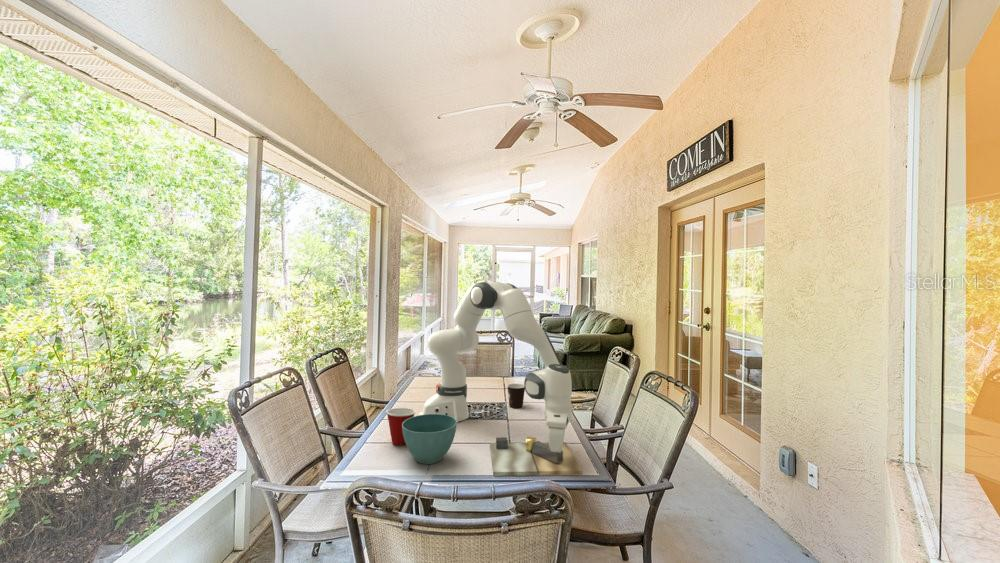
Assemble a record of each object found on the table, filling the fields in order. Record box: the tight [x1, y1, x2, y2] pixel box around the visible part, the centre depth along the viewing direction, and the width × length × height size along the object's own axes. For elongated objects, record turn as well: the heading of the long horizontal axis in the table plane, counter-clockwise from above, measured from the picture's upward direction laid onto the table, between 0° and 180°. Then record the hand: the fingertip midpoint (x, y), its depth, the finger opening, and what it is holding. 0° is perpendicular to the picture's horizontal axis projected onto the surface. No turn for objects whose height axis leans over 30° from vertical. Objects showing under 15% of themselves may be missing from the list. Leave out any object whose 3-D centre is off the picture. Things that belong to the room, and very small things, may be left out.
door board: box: [489, 441, 583, 477], centre depth 136 cm, size 28×22×1 cm
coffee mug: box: [507, 383, 526, 410], centre depth 195 cm, size 12×9×10 cm
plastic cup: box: [385, 407, 417, 447], centre depth 149 cm, size 11×11×12 cm
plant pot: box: [402, 414, 458, 465], centre depth 136 cm, size 18×18×12 cm
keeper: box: [495, 436, 509, 449], centre depth 143 cm, size 4×3×3 cm
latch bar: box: [525, 436, 563, 464], centre depth 136 cm, size 15×4×4 cm, turn 42°
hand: (557, 454), depth 135 cm, fingers closed
